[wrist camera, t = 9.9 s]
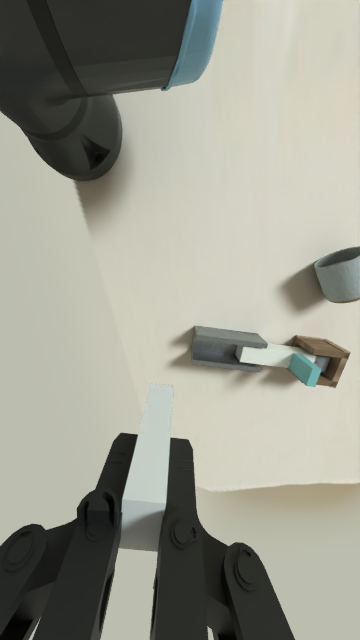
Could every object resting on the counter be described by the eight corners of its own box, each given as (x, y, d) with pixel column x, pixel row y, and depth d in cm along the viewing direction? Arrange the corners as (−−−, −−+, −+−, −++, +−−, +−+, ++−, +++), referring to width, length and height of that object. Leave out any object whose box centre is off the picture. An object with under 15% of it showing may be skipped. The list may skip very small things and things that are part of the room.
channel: (195, 325, 43) (197, 334, 37) (257, 333, 43) (268, 343, 38) (190, 351, 44) (192, 364, 39) (250, 359, 45) (259, 372, 40)
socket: (295, 335, 43) (315, 347, 37) (326, 339, 43) (350, 352, 37) (285, 366, 45) (302, 383, 39) (314, 370, 46) (335, 387, 39)
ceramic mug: (318, 301, 41) (349, 310, 33) (304, 267, 39) (334, 267, 31) (367, 275, 39) (411, 278, 32) (356, 238, 37) (400, 231, 30)
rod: (238, 339, 42) (254, 361, 33) (319, 349, 43) (356, 373, 33) (235, 354, 43) (249, 378, 34) (313, 363, 44) (348, 391, 34)
